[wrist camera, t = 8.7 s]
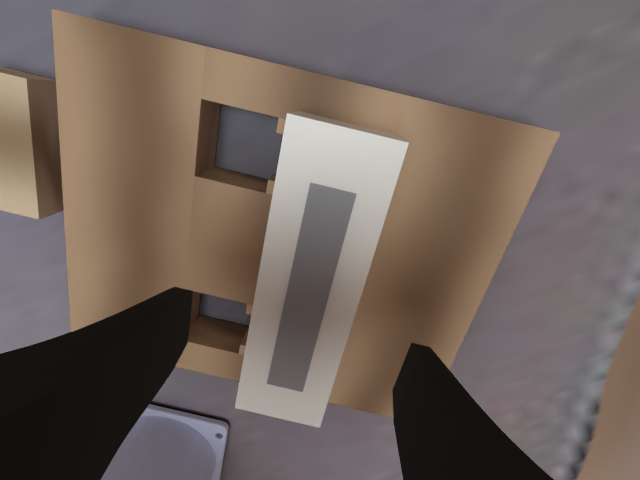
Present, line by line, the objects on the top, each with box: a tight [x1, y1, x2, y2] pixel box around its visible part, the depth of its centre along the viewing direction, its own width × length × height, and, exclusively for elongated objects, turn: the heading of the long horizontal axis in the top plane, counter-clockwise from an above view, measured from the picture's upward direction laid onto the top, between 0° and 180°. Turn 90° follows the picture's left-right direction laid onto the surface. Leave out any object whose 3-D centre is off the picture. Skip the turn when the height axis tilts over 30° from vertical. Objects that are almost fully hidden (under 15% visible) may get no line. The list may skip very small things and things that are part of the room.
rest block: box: [0, 67, 64, 219], centre depth 17 cm, size 6×3×2 cm, turn 167°
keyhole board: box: [52, 9, 560, 418], centre depth 17 cm, size 20×16×2 cm
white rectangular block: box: [235, 111, 409, 428], centre depth 16 cm, size 13×4×5 cm, turn 167°
